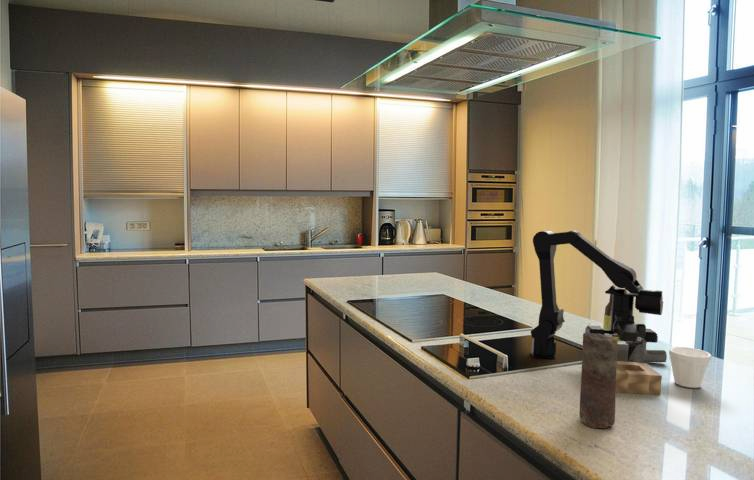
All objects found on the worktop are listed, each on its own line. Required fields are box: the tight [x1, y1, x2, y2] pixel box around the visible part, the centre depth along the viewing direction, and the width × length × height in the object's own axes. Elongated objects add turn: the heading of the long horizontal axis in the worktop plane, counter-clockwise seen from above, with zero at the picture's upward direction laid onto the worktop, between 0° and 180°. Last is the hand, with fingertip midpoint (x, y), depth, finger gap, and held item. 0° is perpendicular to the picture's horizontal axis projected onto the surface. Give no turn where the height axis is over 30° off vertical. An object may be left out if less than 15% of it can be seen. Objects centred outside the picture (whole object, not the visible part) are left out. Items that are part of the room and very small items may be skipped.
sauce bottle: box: [602, 287, 621, 341], centre depth 185 cm, size 6×6×20 cm
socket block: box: [616, 361, 663, 396], centre depth 145 cm, size 11×11×5 cm
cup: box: [668, 346, 712, 389], centre depth 147 cm, size 10×10×9 cm
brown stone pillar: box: [579, 332, 618, 429], centre depth 120 cm, size 8×7×20 cm
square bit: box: [617, 341, 629, 362], centre depth 159 cm, size 4×4×8 cm
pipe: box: [625, 338, 668, 363], centre depth 168 cm, size 6×13×8 cm, turn 78°
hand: (618, 362), depth 159 cm, fingers closed on square bit, 4 cm apart
